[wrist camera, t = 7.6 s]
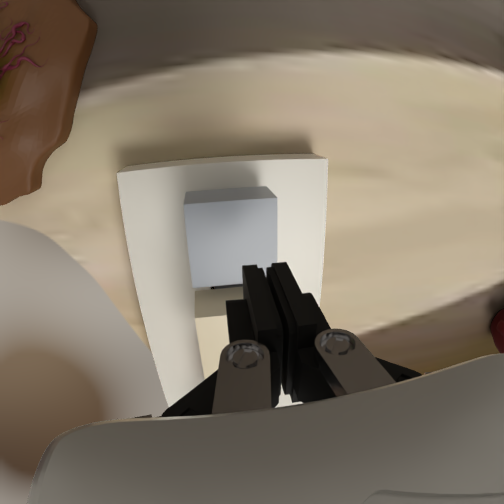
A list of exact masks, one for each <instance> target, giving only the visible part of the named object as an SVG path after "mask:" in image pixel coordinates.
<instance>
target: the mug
mask: <svg viewBox="0 0 504 504" xmlns="http://www.w3.org/2000/svg"><path fill="white" fill-rule="evenodd" d="M491 333H492V336H493V340H494V343H495V345H496V347H497V349H498V350H499V352H500V353H504V309H502V310H501V311H500V312H498V314H497V315H496V316H495V317H494V319H493V321H492V323H491Z"/></svg>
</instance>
